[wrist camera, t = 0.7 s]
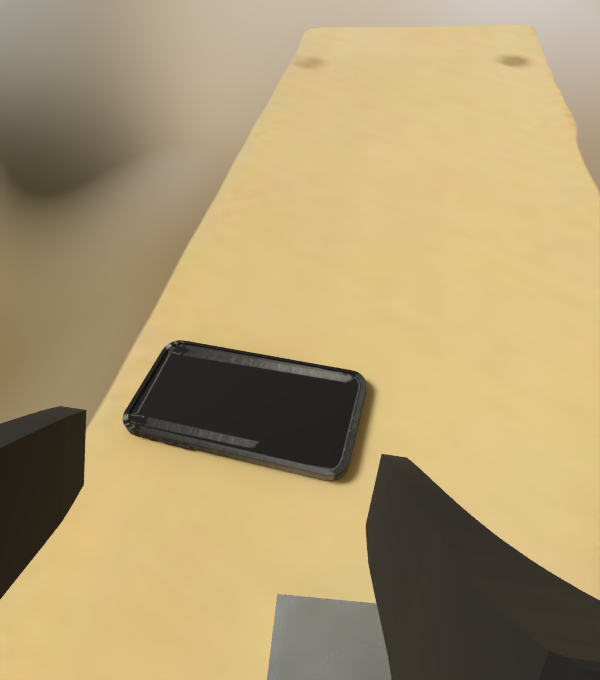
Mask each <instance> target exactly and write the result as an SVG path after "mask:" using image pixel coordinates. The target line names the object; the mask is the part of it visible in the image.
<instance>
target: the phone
mask: <svg viewBox="0 0 600 680" xmlns="http://www.w3.org/2000/svg"><path fill="white" fill-rule="evenodd" d="M365 394H366V381H365V378H364V377H363V376H362V375H361V374H359V373H358V372H355V371H352V370H347V369H341V368H335V367H330V366H324V365H319V364H313V363H307V362H302V361H296V360H290V359H285V358H279V357H274V356H268V355H262V354H257V353H251V352H245V351H240V350H234V349H229V348H223V347H217V346H212V345H206V344H200V343H195V342H189V341H182V340H178V341H174V342H171V343H169V344H168V345H167V346H165V348H164V349H163V350H162V352H161V353H160V355H159V357H158V358H157V360H156V361H155V363H154V365H153V366H152V368H151V370H150V371H149V373H148V374H147V376H146V378H145V379H144V381H143V383H142V384H141V386H140V387H139V389H138V391H137V392H136V394H135V396H134V397H133V399H132V400H131V402H130V404H129V405H128V407H127V409H126V410H125V412H124V414H123V423H124V425H125V427H126V428H127V430H128V431H129V432H130V433H131V434H133V435H135V436H139V437H143V438H147V439H151V440H156V441H160V442H163V443H167V444H171V445H177V446H179V447H183V448H187V449H194V450H198V451H202V452H207V453H211V454H215V455H219V456H223V457H228V458H232V459H236V460H240V461H245V462H249V463H253V464H257V465H262V466H266V467H270V468H274V469H279V470H283V471H287V472H291V473H296V474H300V475H304V476H308V477H312V478H317V479H321V480H326V481H333V480H337V479H339V478H341V477H343V475H344V474H345V473H346V472H347V469H348V467H349V463H350V459H351V457H350V456H351V454H352V450H353V446H354V441H355V437H356V433H357V429H358V424H359V420H360V416H361V411H362V407H363V403H364V398H365Z"/></svg>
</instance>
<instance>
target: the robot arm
mask: <svg viewBox="0 0 600 680" xmlns="http://www.w3.org/2000/svg"><path fill="white" fill-rule="evenodd" d="M85 432H86V410H82V409H75V408H69V407H62V406H60V407H55V408H50V409H46V410H43V411H39V412H36V413H33V414H29V415H26V416H23V417H20V418H17V419H14V420H11V421H8V422H5V423H1V424H0V599H1V598H2V596H3V595H4V594H5V593H6V591H7V590H8V589H9V588H10V586H11V585H12V584H13V583H14V581H15V580H16V579H17V578H18V576H19V575H20V574H21V573H22V571H23V570H24V569H25V568H26V566H27V565H28V564H29V563H30V561H31V560H32V559H33V558H34V556H35V555H36V554H37V553H38V551H39V550H40V549H41V548H42V546H43V545H44V544H45V543H46V541H47V540H48V539H49V537H50V536H51V535H52V534H53V532H54V531H55V530H56V529H57V527H58V526H59V525H60V523H61V522H62V521H63V519H64V517H65V516H66V514H67V513H68V511H69V509H70V508H71V506H72V504H73V503H74V501H75V499H76V497H77V496H78V494H79V492H80V490H81V489H82V487H83V485H84V462H85ZM366 538H367V552H368V563H369V569H370V574H371V579H372V584H373V589H374V593H375V598H376V603H377V608H378V612H379V617H380V622H381V627H382V631H383V636H384V641H385V645H386V650H387V655H388V660H389V666H390V672H391V678H392V680H600V600H598V599H596V598H594V597H592V596H590V595H588V594H587V593H585V592H583V591H581V590H579V589H578V588H576V587H574V586H573V585H571V584H569V583H568V582H566V581H564V580H562V579H561V578H559V577H557V576H556V575H554V574H552V573H551V572H549V571H547V570H546V569H544V568H543V567H541V566H539V565H538V564H536V563H535V562H533V561H532V560H530V559H529V558H527V557H526V556H524V555H523V554H522V553H520V552H519V551H517V550H516V549H514V548H513V547H512V546H510V545H509V544H507V543H506V542H504V541H503V540H502V539H500V538H499V537H498V536H496V535H495V534H494V533H492V532H491V531H490V530H489V529H487V528H486V527H485V526H484V525H482V524H481V523H480V522H479V521H478V520H476V519H475V518H474V517H473V516H471V515H470V514H469V513H468V512H467V511H466V510H464V509H463V508H462V507H461V506H460V505H459V504H457V503H456V502H455V501H454V500H453V499H452V498H451V497H450V496H449V495H447V494H446V493H445V492H444V491H443V490H442V489H441V488H440V487H439V486H438V485H437V484H436V483H435V482H433V481H432V480H431V479H430V478H429V477H428V476H427V475H426V474H425V473H424V472H423V471H422V470H421V469H420V468H418V467H417V466H416V465H415V464H414V463H413V462H412V461H410V460H409V459H408V458H406V457H399V456H393V455H386V454H382V455H381V459H380V464H379V468H378V473H377V477H376V482H375V486H374V491H373V495H372V500H371V504H370V508H369V513H368V517H367V522H366Z"/></svg>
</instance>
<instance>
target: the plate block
mask: <svg viewBox="0 0 600 680" xmlns="http://www.w3.org/2000/svg"><path fill="white" fill-rule="evenodd" d="M267 680H391V672H390V666H389V660H388V655H387V650H386V645H385V641H384V636H383V631H382V627H381V622H380V617H379V612H378V608H377V604H375V603H364V602H354V601H344V600H333V599H323V598H312V597H302V596H292V595H281V594H277V602H276V610H275V618H274V627H273V635H272V643H271V651H270V660H269V668H268V676H267Z"/></svg>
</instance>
